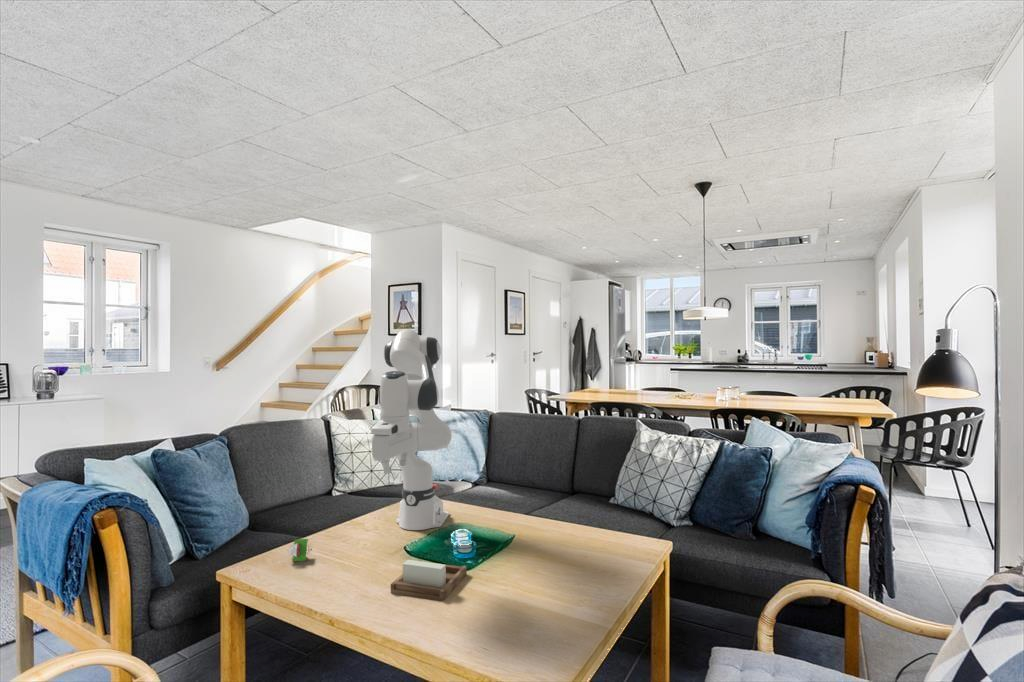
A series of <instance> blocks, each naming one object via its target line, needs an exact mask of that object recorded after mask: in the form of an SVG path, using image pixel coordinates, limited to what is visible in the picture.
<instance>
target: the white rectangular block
mask: <svg viewBox="0 0 1024 682" xmlns="http://www.w3.org/2000/svg"><path fill="white" fill-rule="evenodd" d="M446 565H447V564H446ZM446 565H444V564H442V563H438V564H437V562H430V563H429V561H418V560H414V559H413V560H412V559H407V560H405V562H403V563H402V574H403V582H407V583H414V584H421V585H428V586H435V587H442V588H443V587H444V586H445V585H446Z"/></svg>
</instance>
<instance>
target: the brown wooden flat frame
mask: <svg viewBox="0 0 1024 682" xmlns="http://www.w3.org/2000/svg"><path fill="white" fill-rule="evenodd" d="M417 561H422V560H421V559H418V560H417ZM422 562H423V561H422ZM428 562H429V561H428ZM429 563H431V562H429ZM436 563H437V562H436ZM437 564H439V563H437ZM444 565H446V585H445V586H444V587H443V588H442V587H435V586H428V585H421V584H414V583H407V582H403V573H402V574H401V575H399V576H398V577H397V578H396V579H395V580H394V581H393V582H391V583H390V594H396V595H402V596H407V597H414V598H415V597H416V598H420V599H421V598H422V599H429V600H434V601H440V602H441V601H442V602H444V600H446V598H447V597H448V596H449V595H450V594H451V593H452V591H453V590H454V589H456V587H457V586H458V584H459V583H460V582H461V581H462V580H463V579H464V578H465V577H466V575H467V569H468V568H467V565H461V566H459V565H452V564H444Z"/></svg>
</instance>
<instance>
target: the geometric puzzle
mask: <svg viewBox="0 0 1024 682" xmlns="http://www.w3.org/2000/svg"><path fill="white" fill-rule="evenodd" d="M308 541H309V539H308V538H301V539H300V538H298V539H294V540H293V542H292V545H290V547H289V548H288V550H287V552H288V553H289V556H290V555H291V556H292V558H291V561H292V562H303V561H305V562H306V561H307V558H308V557H309V553H311V551H312V550H313V548H311V547H310V546H309V545H311V543H310V542H308ZM307 547H308V548H307Z"/></svg>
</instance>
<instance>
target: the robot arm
mask: <svg viewBox="0 0 1024 682" xmlns="http://www.w3.org/2000/svg"><path fill="white" fill-rule="evenodd" d="M440 345H441V344H440V343H439V341H438V339H437V338H435V337H432V336H431V337H429V336H427V337H420V335H419V334H418V333H417V332H416V331H415V330H413V329H409V328H405V329H402V330H400V331H399V332H397V334H396V336H395V337H394V339H393V340H391V341H389V342H387V343H386V344H385V345H384V348H383V358H384V361H385V363H386V365H387V366H389V367H391V368H394V369H395V370H393V371H387V372H384V373H383V374H382V375H381V378H380V386H379V388H378V392H377V393H378V394H377V395H378V404H379V405H380V407H381V408H380V412H379V413H380V414H379V420H378V421H377V422H376V423H375V424H374V425H373V426H372V427H371V429H370V430H371V432H370V433H371V435H373V436H372V439H371V453H372V454H371V455H372V459H373V460H374V461H375V462H380V463H381V465H382V468H383V474H386V475H388V474H391V473H392V466H390V460H391V459H392V458H395V457H396V458H397V460H398V462H399V466H400V467H401V471H402V479H403V481H402V482H403V483H402V484H403V487H402V490H401V494H402V495H401V497H402V499H401V500H400V502H399V510H398V511H399V512H398V518H396V519H395V523H397V524H398V525H399V527H400V528H401V529H404V530H408V531H423V530H429V529H433V528H440V527H442V526H443V525H444V523H445V521H446V520H447V518H448V517H449V515H450V512H449V511H447V510H445V509H444V502H443V500H442V499H441V498H439V497H438V496H437V495H436V490H438V488H439V487H438V484H436V483H434V484H433V474H434V473H433V472H434V471H433V466H432V465H431V463H429V461H427V460H425V459H422V458H420V457H418V456H417V454H416V453H417V452H428V451H429V452H430V451H433V452H434V451H438V450H441V449H446V448H448V447H449V445H450V444H451V442H452V438H453V437H452V434H453V433H452V430H451V428H450V426H449V425H448V424H447V423H446V422H445V421H443V420H442V419H441V418H439V416H438V414H437V413H436V412H435V411H434V408H435V407H436V406H437V405H438V402H439V397H440V396H439V389H438V386H437V383H436V380H435V376H434V371H433V366H435V365H436V364H437V363H438V361H439V359H440V356H441V350H442V349H441V346H440ZM410 415H412V416H414V417H415V418H417V419H418V421H415V422H414V421H413V422H411V421H410Z"/></svg>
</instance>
